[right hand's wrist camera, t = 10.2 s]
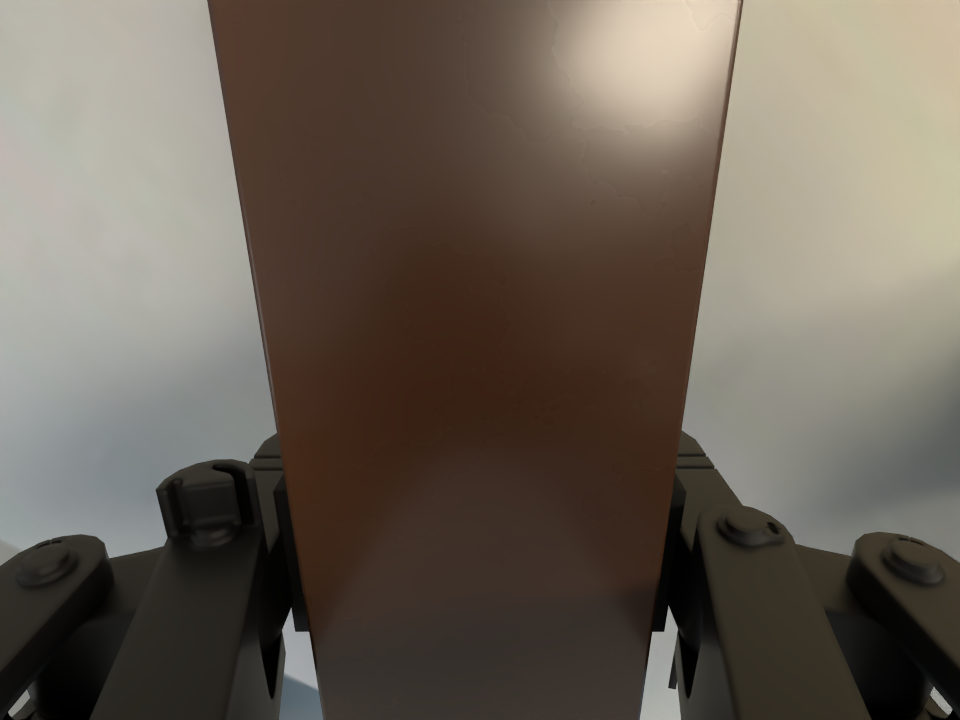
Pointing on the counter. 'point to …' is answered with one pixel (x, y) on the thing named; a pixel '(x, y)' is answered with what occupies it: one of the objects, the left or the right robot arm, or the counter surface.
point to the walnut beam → (478, 328)
